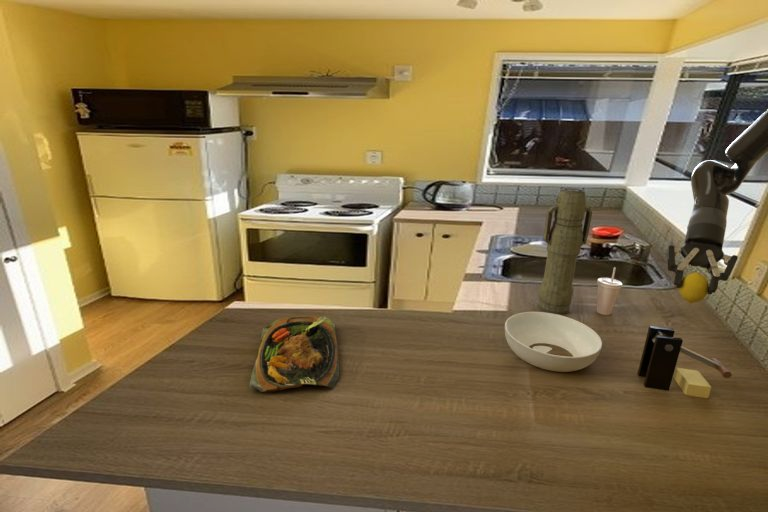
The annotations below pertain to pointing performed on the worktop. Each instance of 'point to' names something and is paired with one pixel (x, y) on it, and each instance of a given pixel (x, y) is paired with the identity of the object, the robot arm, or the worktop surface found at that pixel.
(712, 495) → the worktop surface
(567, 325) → the serving bowl
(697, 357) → the lever
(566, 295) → the thermos
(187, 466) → the worktop surface
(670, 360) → the slicer
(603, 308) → the smoothie
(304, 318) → the prepared meal
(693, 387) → the butter
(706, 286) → the lemon
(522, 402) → the worktop surface
